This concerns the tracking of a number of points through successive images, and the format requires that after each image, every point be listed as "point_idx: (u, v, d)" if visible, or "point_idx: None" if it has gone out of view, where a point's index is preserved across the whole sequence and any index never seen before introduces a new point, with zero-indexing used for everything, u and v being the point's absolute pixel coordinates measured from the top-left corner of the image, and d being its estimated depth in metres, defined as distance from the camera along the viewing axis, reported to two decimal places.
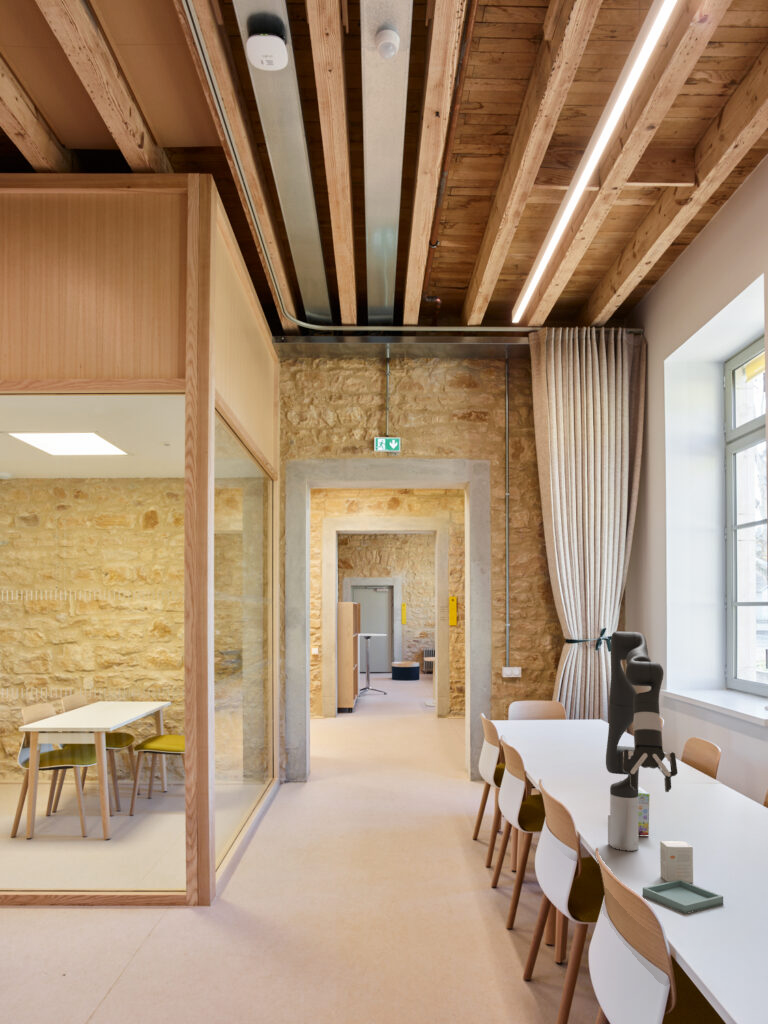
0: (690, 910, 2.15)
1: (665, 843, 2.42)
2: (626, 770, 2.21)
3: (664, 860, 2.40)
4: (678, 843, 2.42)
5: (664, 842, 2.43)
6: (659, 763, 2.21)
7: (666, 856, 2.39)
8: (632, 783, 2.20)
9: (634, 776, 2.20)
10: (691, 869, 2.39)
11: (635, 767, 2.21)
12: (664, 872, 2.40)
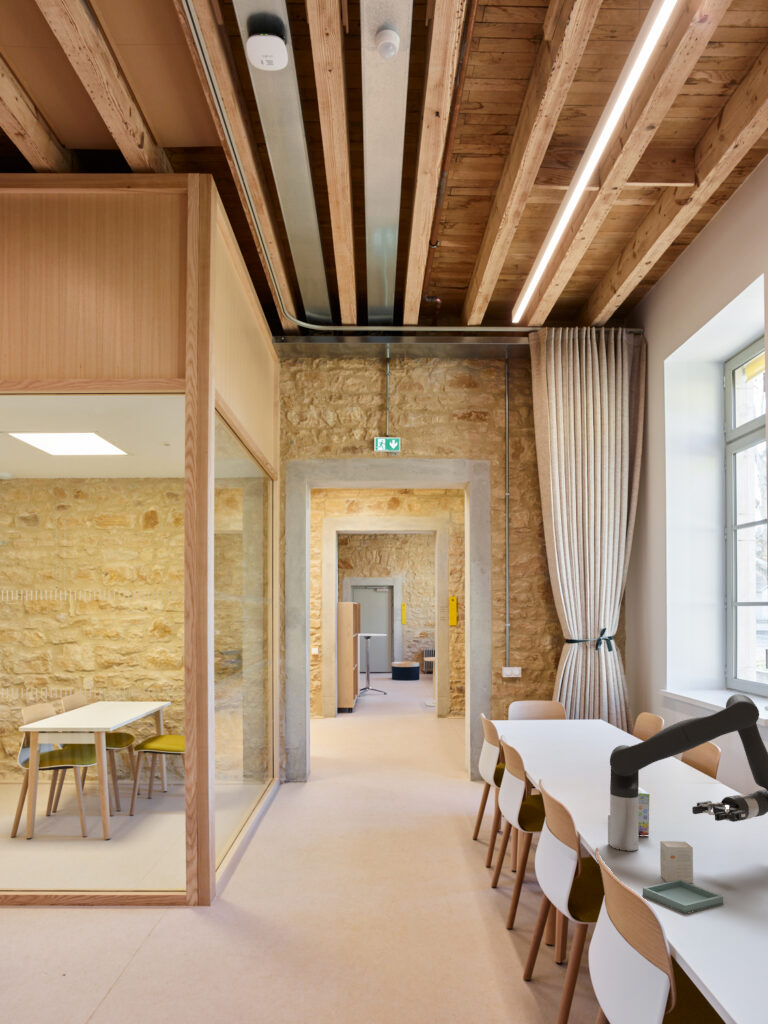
0: (690, 910, 2.15)
1: (665, 843, 2.42)
2: (732, 820, 2.45)
3: (664, 860, 2.40)
4: (678, 843, 2.42)
5: (664, 842, 2.43)
6: None
7: (666, 856, 2.39)
8: None
9: None
10: (691, 869, 2.39)
11: None
12: (664, 872, 2.40)
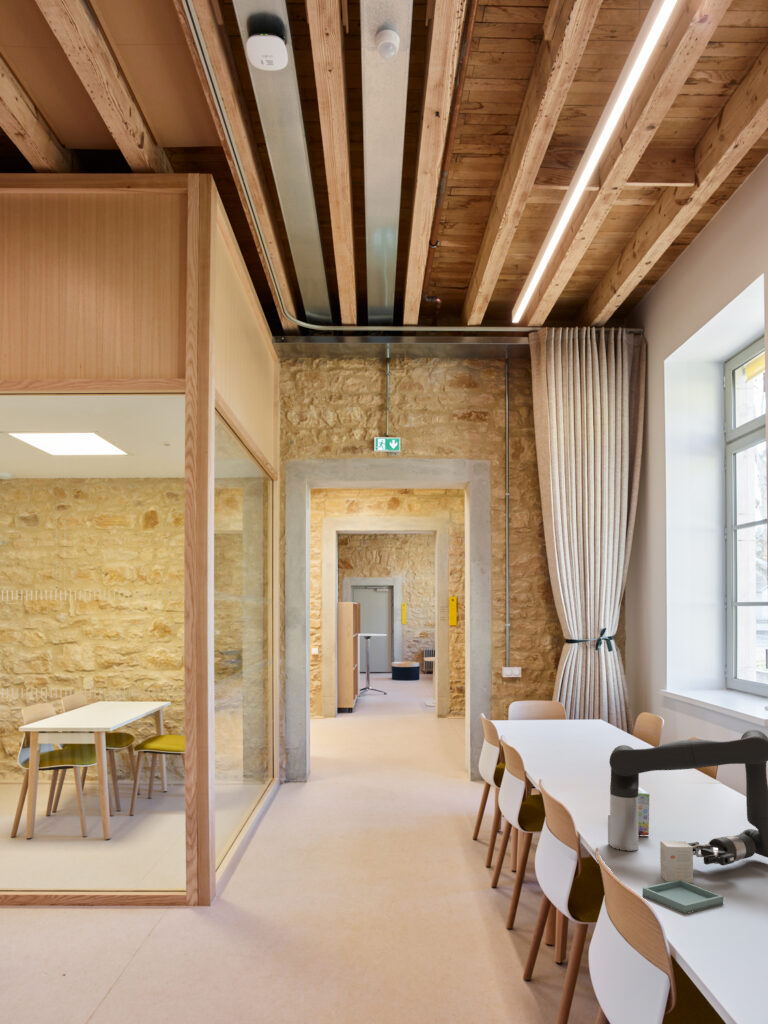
0: (690, 910, 2.15)
1: (665, 843, 2.42)
2: (721, 864, 2.41)
3: (664, 859, 2.40)
4: (678, 843, 2.42)
5: (664, 842, 2.43)
6: None
7: (666, 856, 2.39)
8: None
9: None
10: (691, 869, 2.39)
11: None
12: (664, 872, 2.40)
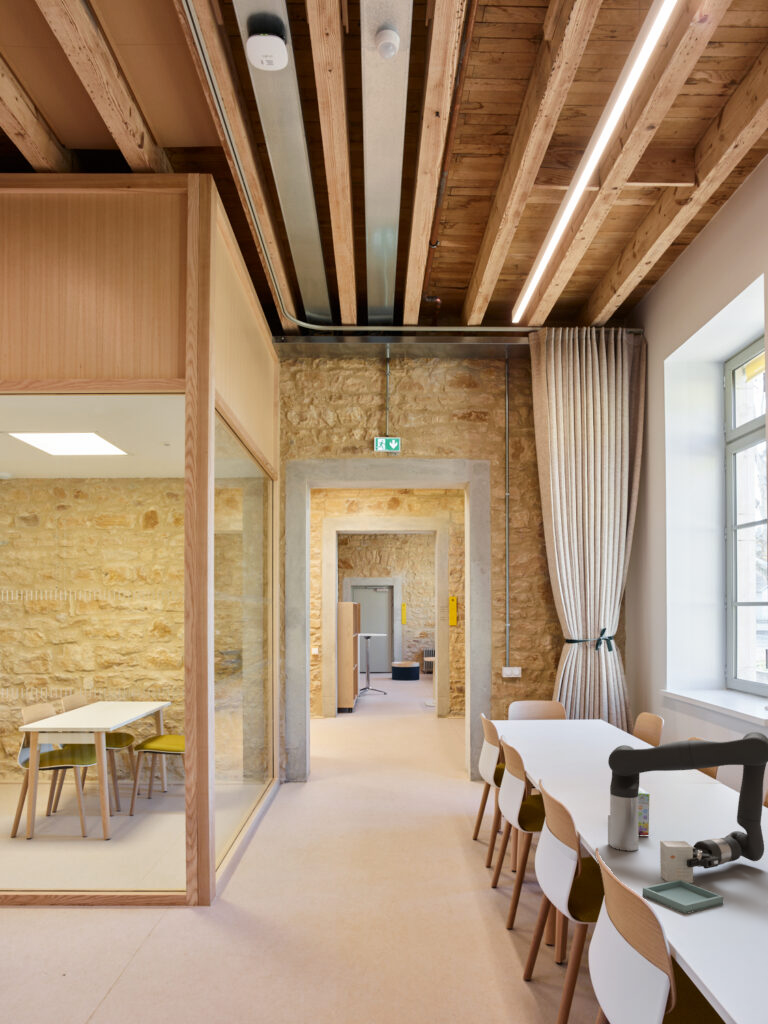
0: (690, 910, 2.15)
1: (665, 843, 2.42)
2: (704, 867, 2.38)
3: (664, 859, 2.40)
4: (678, 843, 2.42)
5: (664, 842, 2.43)
6: None
7: (666, 856, 2.39)
8: None
9: None
10: (691, 869, 2.39)
11: None
12: (664, 872, 2.40)
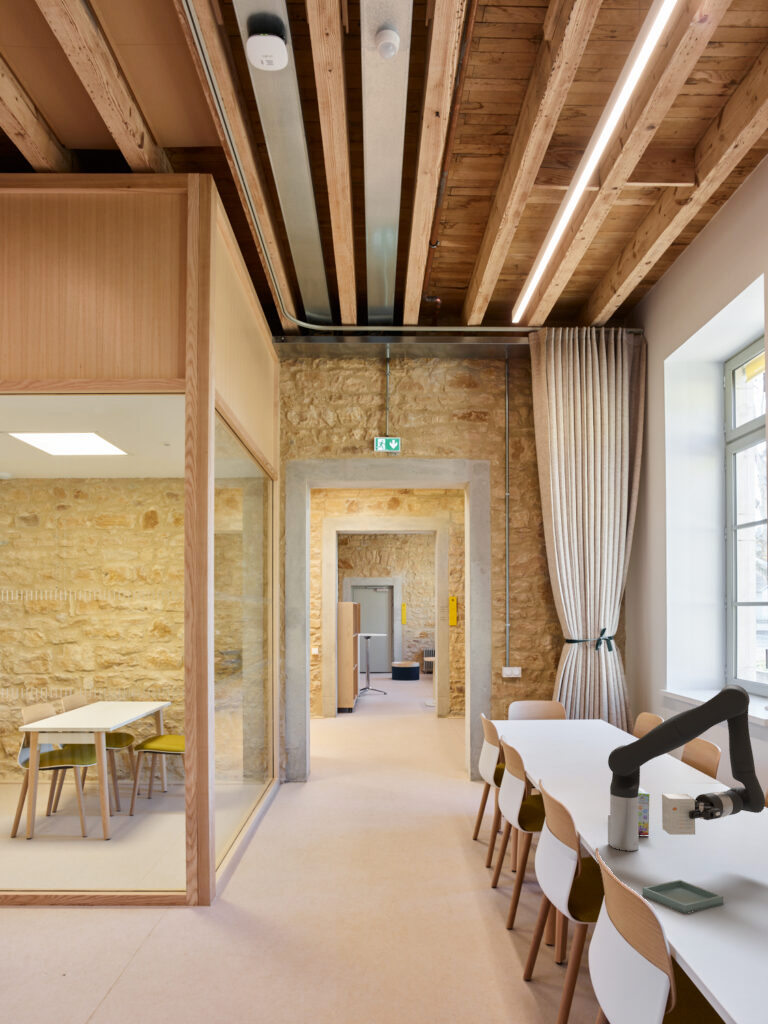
0: (690, 910, 2.15)
1: (667, 795, 2.41)
2: None
3: (666, 812, 2.39)
4: (680, 795, 2.41)
5: (666, 795, 2.42)
6: None
7: (668, 808, 2.38)
8: None
9: None
10: (693, 821, 2.37)
11: None
12: (666, 824, 2.39)
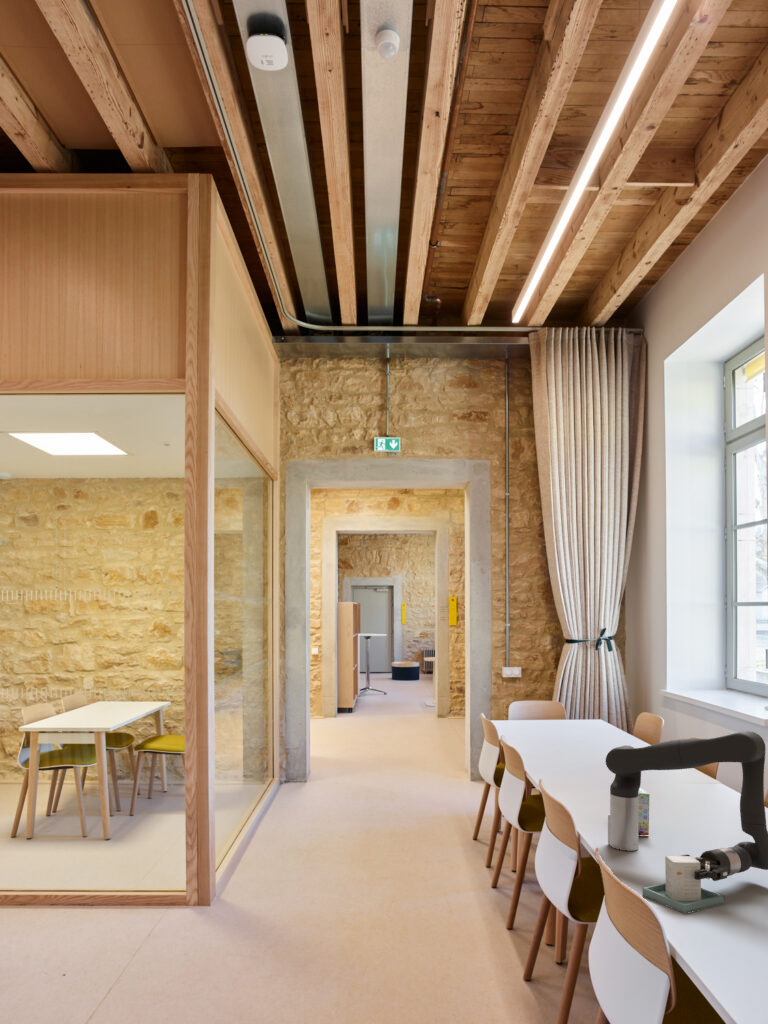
0: (690, 910, 2.15)
1: (671, 858, 2.26)
2: (713, 879, 2.21)
3: (670, 876, 2.24)
4: (684, 858, 2.26)
5: (669, 857, 2.27)
6: None
7: (672, 872, 2.23)
8: None
9: None
10: (699, 886, 2.22)
11: None
12: (670, 889, 2.24)
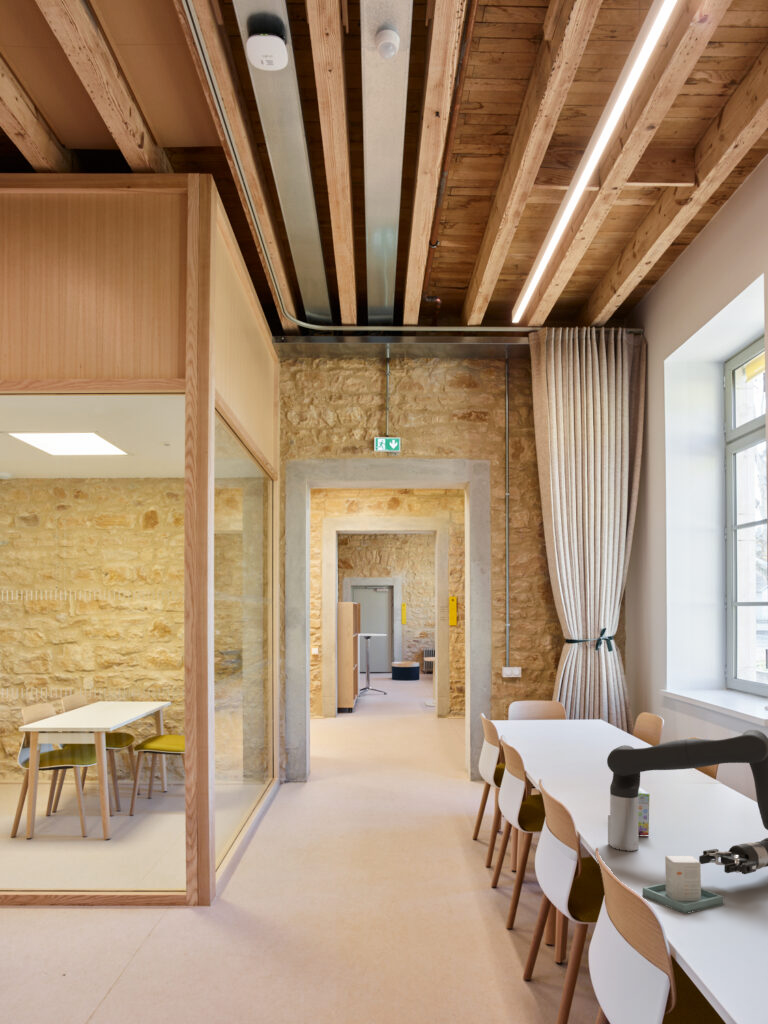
0: (690, 910, 2.15)
1: (671, 858, 2.26)
2: None
3: (670, 876, 2.24)
4: (684, 858, 2.26)
5: (670, 857, 2.27)
6: None
7: (672, 872, 2.23)
8: None
9: None
10: (699, 886, 2.22)
11: None
12: (670, 889, 2.24)
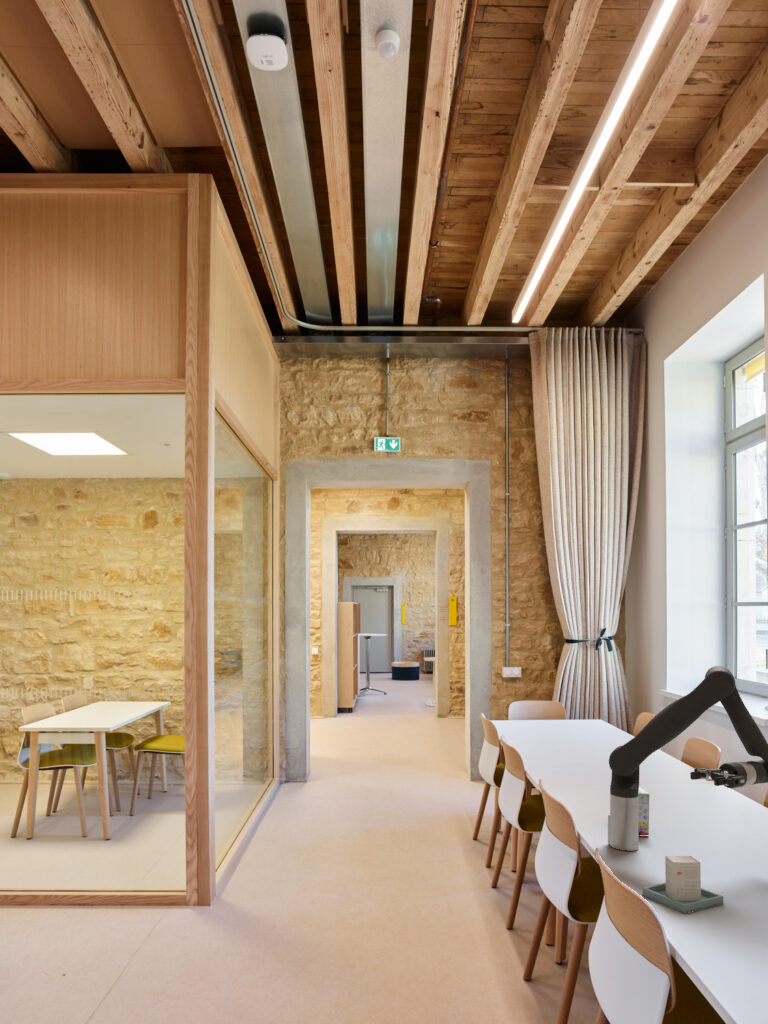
0: (690, 910, 2.15)
1: (671, 858, 2.26)
2: (731, 786, 2.39)
3: (670, 876, 2.24)
4: (684, 858, 2.26)
5: (670, 857, 2.27)
6: (711, 780, 2.48)
7: (672, 872, 2.23)
8: None
9: None
10: (699, 886, 2.22)
11: None
12: (670, 889, 2.24)
